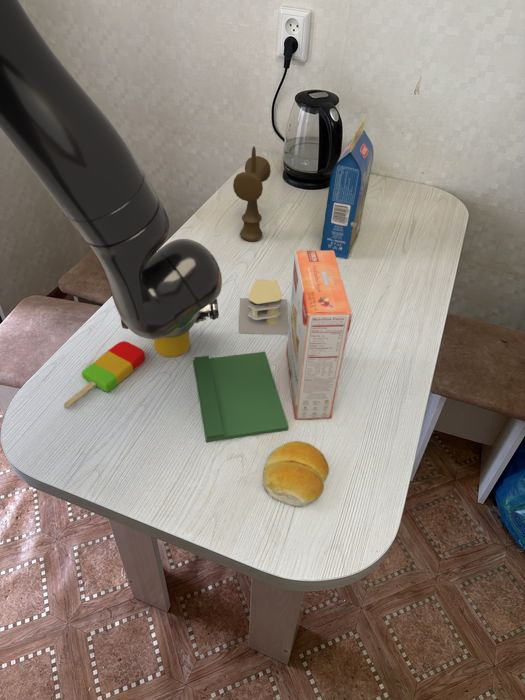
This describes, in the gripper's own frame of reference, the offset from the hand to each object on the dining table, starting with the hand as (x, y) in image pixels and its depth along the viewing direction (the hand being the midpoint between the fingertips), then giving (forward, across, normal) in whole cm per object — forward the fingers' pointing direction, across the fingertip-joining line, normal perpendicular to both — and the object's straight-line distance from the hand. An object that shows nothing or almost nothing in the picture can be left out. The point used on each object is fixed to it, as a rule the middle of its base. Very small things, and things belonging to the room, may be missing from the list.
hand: (170, 318), depth 81 cm
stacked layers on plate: (+8, -17, +1) cm, 19 cm away
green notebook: (-5, -9, +13) cm, 17 cm away
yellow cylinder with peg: (+4, 0, +4) cm, 6 cm away
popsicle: (0, +11, +9) cm, 14 cm away
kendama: (+27, -20, -18) cm, 38 cm away
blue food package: (+24, -39, -15) cm, 48 cm away
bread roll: (-16, -14, +25) cm, 33 cm away
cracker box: (-4, -20, +14) cm, 24 cm away
